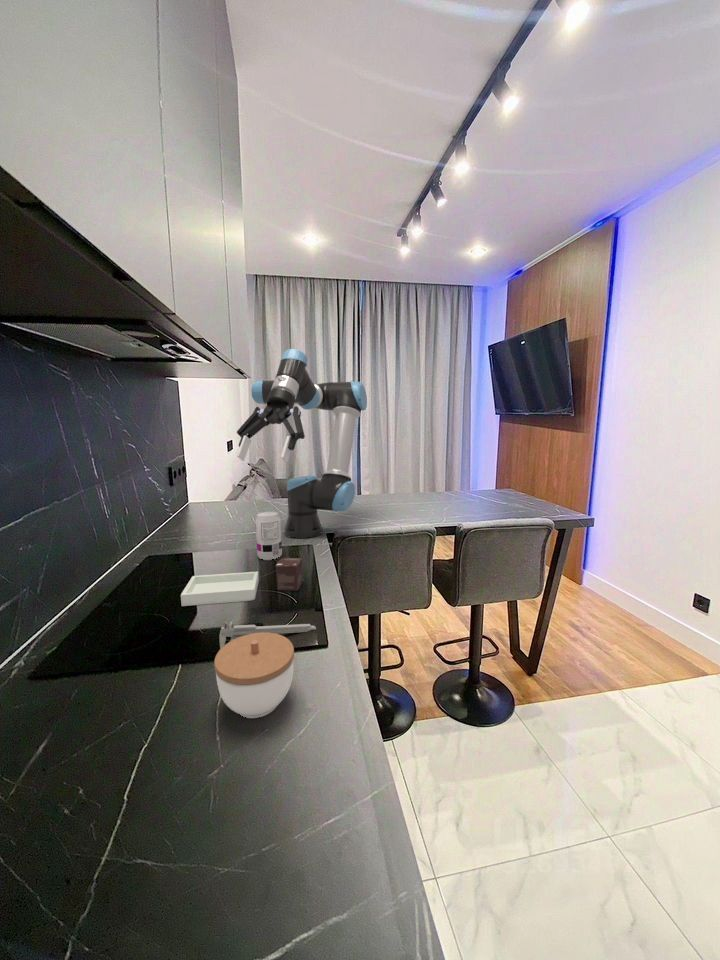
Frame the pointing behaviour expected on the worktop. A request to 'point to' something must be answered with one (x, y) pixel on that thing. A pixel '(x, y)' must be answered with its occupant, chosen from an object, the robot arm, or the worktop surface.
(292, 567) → the box
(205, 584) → the tray
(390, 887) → the worktop surface
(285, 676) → the lidded bowl
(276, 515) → the supplement can
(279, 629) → the caliper
